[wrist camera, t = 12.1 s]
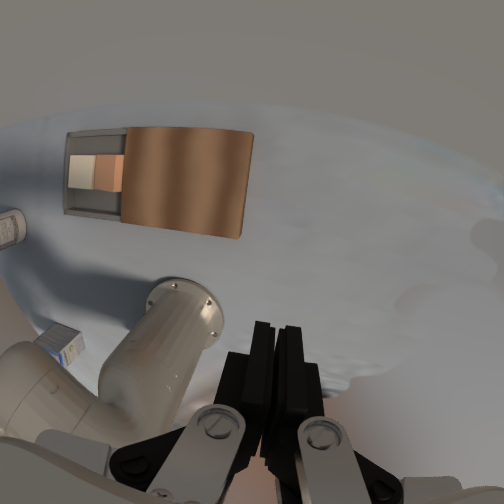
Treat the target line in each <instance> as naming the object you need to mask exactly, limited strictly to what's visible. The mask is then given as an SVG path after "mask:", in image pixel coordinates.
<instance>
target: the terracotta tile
mask: <svg viewBox="0 0 504 504" xmlns="http://www.w3.org/2000/svg"><path fill="white" fill-rule="evenodd" d="M124 156H125V155H97V156H96V167H95V183H94V189H98V190H103V191H109V192H121V191H122V181H123V167H124Z"/></svg>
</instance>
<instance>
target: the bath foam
mask: <svg viewBox="0 0 504 504" xmlns="http://www.w3.org/2000/svg"><path fill="white" fill-rule="evenodd" d="M25 235H26V222H25V218H24V216H23V214H22V213H21V212H20V211H19V210H17V209H14V210H10V211H7V212H3V213H0V251H1V250H3V249H5V248H8V247H10V246H12V245H15V244H17V243H19V242H21V241H23V240H24V238H25Z"/></svg>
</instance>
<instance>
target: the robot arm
mask: <svg viewBox="0 0 504 504" xmlns="http://www.w3.org/2000/svg"><path fill="white" fill-rule="evenodd" d="M176 284H177V285H176ZM209 300H210V301H209ZM223 324H224V320H223V313H222V309H221V307H220V305H219V303H218V301H217V300H216V299H215V297H214V296H213V295H212V294H211V293H210V292H209V291H208V290H207V289H205V288H204V287H202V286H201V285H199V284H197V283H195V282H193V281H189V280H186V279H170V280H166V281H163V282H162V283H160V284H158V285H157V286H156V287H155V288H154V289H153V290H152V291H151V292H150V294H149V296H148V298H147V301H146V313H145V314H144V315H143V317H142V318H141V319H140V320H139V321H138V322H137V324H136V325H135V326H134V327H133V328H132V329H131V331H130V332H129V333H128V334H127V335H126V336H125V338H124V339H123V340H122V341H121V342H120V344H119V345H118V346H117V347H116V348H115V349H114V351H113V352H112V353H111V354H110V355H109V357H108V358H107V359H106V361H105V362H104V364H103V365H102V368H101V370H100V374H99V379H98V397H97V396H95V395H94V394H93V393H91V392H90V391H89V390H88V389H87V388H86V387H85V386H83V385H82V384H81V383H80V382H79V381H78V380H77V379H76V378H75V377H74V376H73V375H72V374H70V373H69V372H68V371H67V370H66V369H65V368H64V367H63V366H62V365H61V364H60V363H59V362H58V361H57V360H56V359H55V358H54V357H53V356H52V355H51V354H50V353H49V352H48V351H46V350H45V349H44V348H43V347H41V346H40V345H38V344H36V343H34V342H30V341H23V342H19V343H16V344H14V345H12V346H11V347H10V348H8V349H7V350H6V351H5V352H4V353H3V354H2V355H1V356H0V504H223V503H224V501H225V498H226V495H227V493H228V491H229V488H230V486H231V483H232V481H233V478H234V475H235V474H236V473H238V472H240V471H241V470H243V469H245V468H247V467H248V464H249V461H250V458H251V456H255V455H256V451H257V449H258V445H259V442H260V439H261V436H262V439H261V448H260V457H262V458H265V466H268V470H269V471H270V472H271V473H272V474H274V475H275V487H276V494H277V503H278V504H504V488H502V487H497V486H479V487H472V488H467V489H463V490H462V486H461V483H460V482H459V481H458V479H456V478H454V477H450V476H443V477H404V478H403V479H402V480H399V479H397V478H396V477H395V476H394V475H392V474H390V473H389V472H387V471H385V470H384V469H382V468H380V467H379V466H377V465H376V464H374V463H373V462H371V461H370V460H368V459H366V458H365V457H363V456H362V455H360V454H359V453H357V452H356V451H354V450H353V448H352V446H351V443H350V440H349V437H348V434H347V432H346V430H345V428H344V427H343V426H342V425H341V424H340V423H339V422H338V421H336V420H334V419H332V418H328V417H325V416H324V407H323V399H322V392H321V384H320V377H319V370H318V365H317V364H316V363H307V362H304V353H303V342H302V332H301V327H295V326H288V325H286V327H285V329H281V328H280V329H279V333H278V338H277V342H276V347H275V351H274V346H275V328H274V327H270V323H267V322H260V321H255V327H254V333H253V339H252V344H251V350H250V355H247V354H241V353H235V352H230V351H229V352H228V355H227V358H226V362H225V365H224V369H223V372H222V376H221V379H220V383H219V386H218V389H217V393H216V396H215V400H214V403H213V404H210V405H207V406H203V407H202V408H200V409H198V410H197V411H196V412H195V413H194V414H193V416H192V418H191V419H190V421H189V423H188V424H187V426H185V427H182V428H180V429H177V430H174V431H171V428H172V425H173V422H174V419H175V416H176V414H177V411H178V409H179V406H180V404H181V401H182V399H183V397H184V394H185V392H186V390H187V387H188V385H189V382H190V380H191V378H192V375H193V373H194V370H195V368H196V365H197V363H198V361H199V358H200V356H201V353H202V351H203V350H204V349H207V348H209V347H210V346H212V345H213V344H214V343H215V342H216V341H217V340H218V338H219V337H220V335H221V332H222V329H223ZM170 431H171V432H170Z"/></svg>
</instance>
